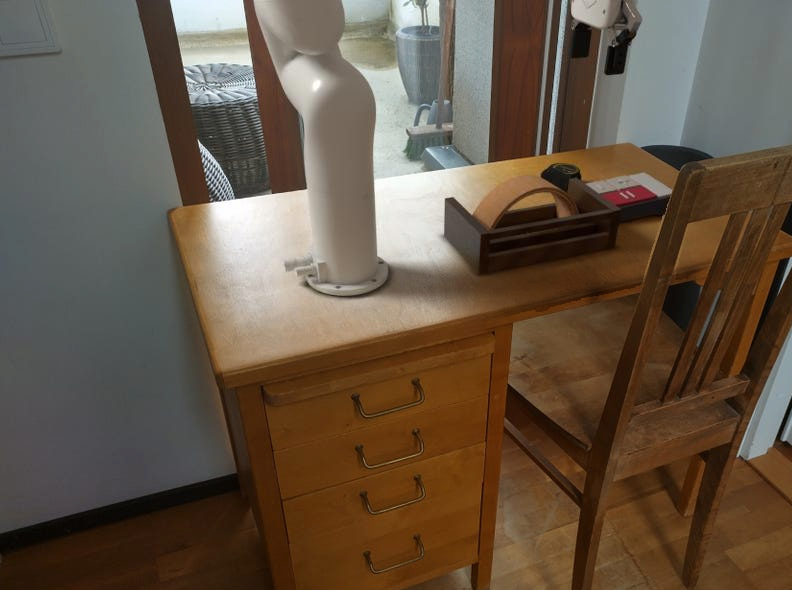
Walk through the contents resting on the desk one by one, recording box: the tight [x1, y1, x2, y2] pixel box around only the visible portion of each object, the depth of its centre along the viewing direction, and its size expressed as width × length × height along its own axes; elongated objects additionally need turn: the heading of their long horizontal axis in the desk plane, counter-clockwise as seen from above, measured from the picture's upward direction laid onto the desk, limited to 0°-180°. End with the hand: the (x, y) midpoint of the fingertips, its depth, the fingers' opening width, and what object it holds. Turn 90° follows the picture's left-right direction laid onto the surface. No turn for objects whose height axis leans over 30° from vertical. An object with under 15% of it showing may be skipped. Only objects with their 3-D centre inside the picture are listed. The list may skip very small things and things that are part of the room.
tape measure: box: [540, 162, 582, 193], centre depth 140 cm, size 7×7×4 cm
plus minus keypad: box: [585, 172, 673, 223], centre depth 133 cm, size 11×4×15 cm
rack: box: [443, 178, 621, 275], centre depth 120 cm, size 26×14×7 cm, turn 114°
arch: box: [471, 174, 579, 230], centre depth 120 cm, size 6×20×10 cm, turn 120°
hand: (595, 65), depth 109 cm, fingers open, 9 cm apart
